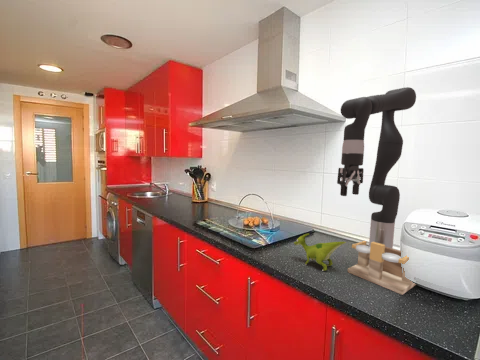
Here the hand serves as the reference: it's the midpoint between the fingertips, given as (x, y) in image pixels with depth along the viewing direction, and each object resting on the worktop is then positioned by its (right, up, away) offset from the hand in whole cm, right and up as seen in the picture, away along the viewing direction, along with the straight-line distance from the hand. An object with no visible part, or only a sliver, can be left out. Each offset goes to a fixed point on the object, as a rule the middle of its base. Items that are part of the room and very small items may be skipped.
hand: (349, 195), depth 93 cm
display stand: (+11, -31, -2) cm, 33 cm away
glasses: (+9, -23, -4) cm, 25 cm away
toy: (-10, -30, +7) cm, 32 cm away
